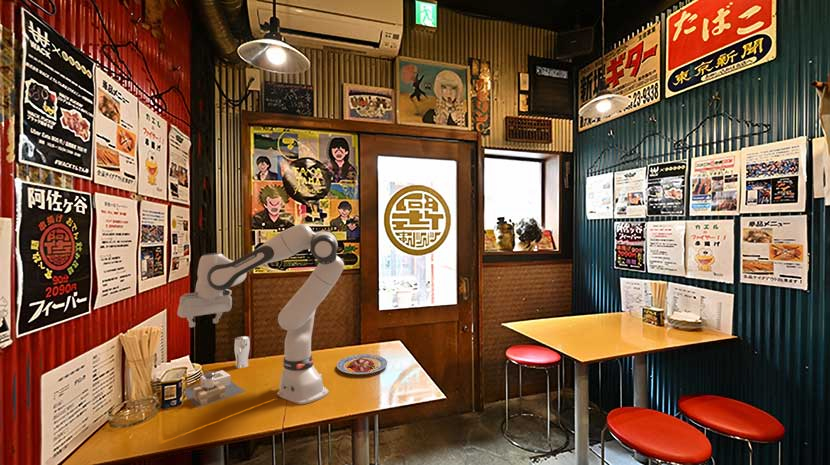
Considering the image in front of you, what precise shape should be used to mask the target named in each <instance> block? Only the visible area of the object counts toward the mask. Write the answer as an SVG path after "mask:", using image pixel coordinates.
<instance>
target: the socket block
mask: <svg viewBox="0 0 830 465" xmlns="http://www.w3.org/2000/svg"><path fill="white" fill-rule="evenodd" d="M231 379H232V378H231V374H229V373H227V372H226V371H225V370H223V369H222V370H217V371H215V376H214V382H215V381H218V382H219V383H221V384H222V385H223V386H227V385H231V381H232V380H231ZM200 384H201V386H202V385H205V377H204V374H203V375H201V376H200Z"/></svg>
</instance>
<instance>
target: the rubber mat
mask: <svg viewBox="0 0 830 465" xmlns="http://www.w3.org/2000/svg"><path fill="white" fill-rule="evenodd" d="M199 386H201V383H200V384H195V385H193V386H189V387H186V389H185V388H184V389H185V393H184V394H183V395H184V396H185V397H186V398H187V399H188V400H189V401H190V402H191V403H192V404H193V406H195V407H196V408H197V409H199V408H202V407H204V406H207V405H210V404H213V403H216V402H218V401H221V400H224V399H228V398H230V397H233V396H236V395H240V394H241V393H244V392H246V390H244V389H243V388H241V387H240V386H239V385H237V384H236V383H234V382H233V381H232V380H231V385H227V386H225V387H226V397H224V398H221V399H218V400H216V401H213V402H210V403H207V404H204V405H200V404H199V403H198V402H197V401H196V400H195V399H194V398H193V388H196V387H199Z"/></svg>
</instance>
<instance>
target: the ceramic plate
mask: <svg viewBox="0 0 830 465" xmlns="http://www.w3.org/2000/svg"><path fill="white" fill-rule="evenodd" d="M363 358H369V359H374V360H377V361H378V362H380V367H379V366H378V367H379V368H378V367H376V368H378V369H376V368H375V366H376V365H374V364H375V363H374V362H373V361H372V360H369V359H363ZM356 359H357V360H356ZM353 360H354V361H353ZM350 361H353V362H351V363H350V364H349V365H348V366H347V368H351V369H352V370H354V371H355V372H350V371H348V370H347V369H346V368H345V365H346V364H347V363H348V362H350ZM387 365H388V361H387V359H386V358H384V357H383V356H380V355H377V354H376V355H375V354H371V353H370V354H368V353H367V354H366V353H363V354H355V355H354V354H352V355H349V356H346V357H344V358H341V359H340V360H339V361H337V363H336V367H337V369H338V370H339V371H341V372H343V373H346V374H351V375H368V374H374V373H376V372H379V371H382V370H383V369H385V368H386V367H387ZM372 367H373V368H374V369H376V370H373V371H369V370H371V369H373V368H372ZM368 371H369V372H368Z"/></svg>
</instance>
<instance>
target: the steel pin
mask: <svg viewBox="0 0 830 465" xmlns="http://www.w3.org/2000/svg"><path fill="white" fill-rule="evenodd" d="M215 372H216V371H214V370H212V371H211V370H210V371H206V372H205V373H203V375H204V377H205V391H209V390H212V389H214V376H215Z"/></svg>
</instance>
